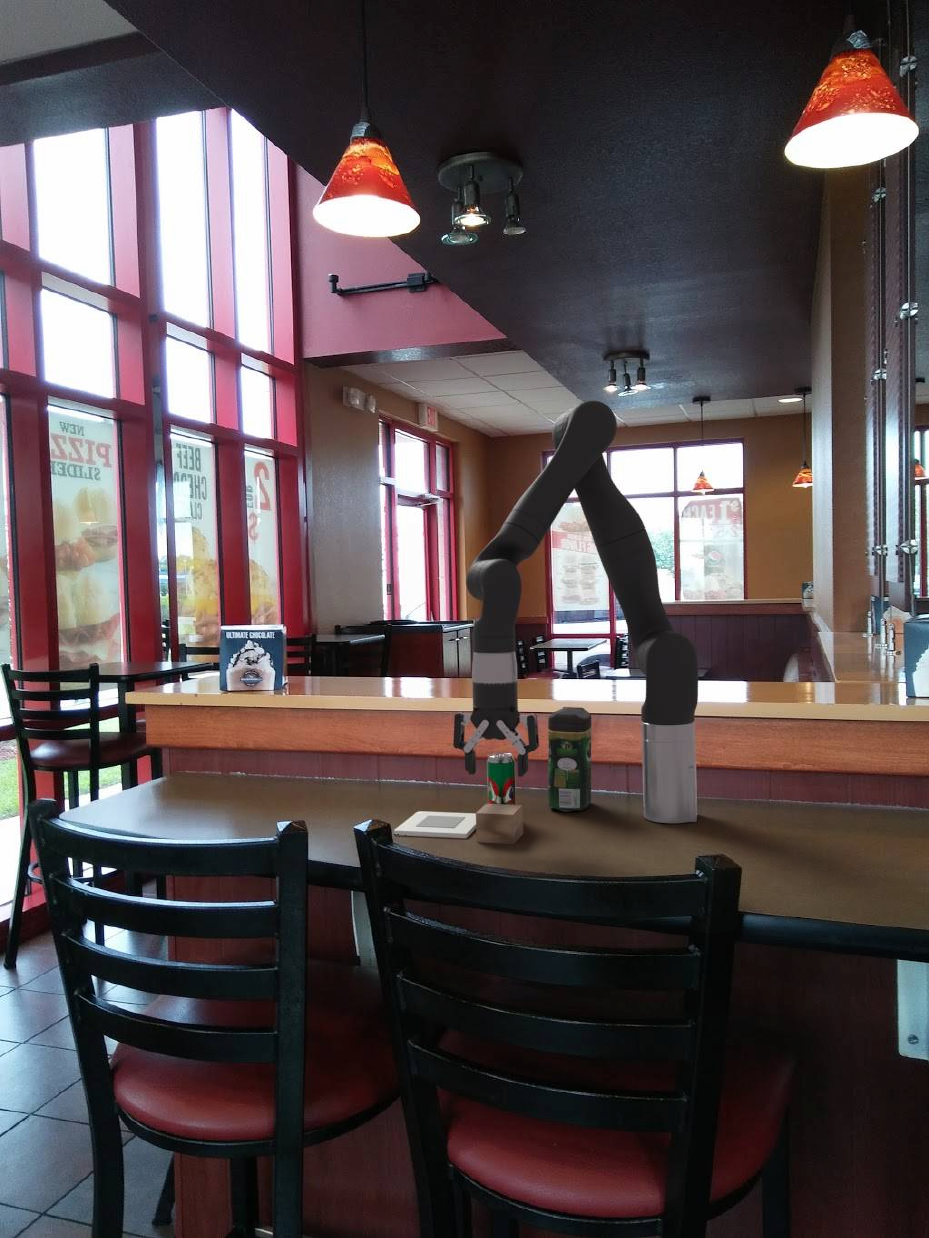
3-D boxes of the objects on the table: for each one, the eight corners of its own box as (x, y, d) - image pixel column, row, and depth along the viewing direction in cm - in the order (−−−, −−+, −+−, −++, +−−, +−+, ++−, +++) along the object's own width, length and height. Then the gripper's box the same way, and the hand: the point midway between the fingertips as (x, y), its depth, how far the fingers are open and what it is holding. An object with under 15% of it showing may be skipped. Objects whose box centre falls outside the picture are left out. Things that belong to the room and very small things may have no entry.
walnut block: (523, 834, 157) (522, 805, 156) (514, 844, 151) (513, 814, 150) (487, 832, 159) (486, 803, 158) (476, 842, 152) (475, 813, 152)
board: (485, 818, 167) (485, 813, 167) (466, 838, 155) (466, 833, 155) (418, 815, 171) (417, 810, 171) (393, 834, 158) (393, 829, 158)
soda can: (517, 817, 167) (515, 752, 166) (516, 825, 162) (514, 757, 161) (489, 817, 167) (487, 752, 167) (487, 825, 162) (485, 757, 162)
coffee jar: (553, 797, 179) (554, 703, 178) (594, 801, 177) (595, 705, 176) (542, 810, 170) (543, 711, 169) (585, 814, 168) (586, 713, 167)
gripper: (541, 676, 155) (542, 772, 156) (460, 675, 159) (462, 768, 160) (531, 682, 148) (533, 781, 149) (447, 680, 152) (449, 777, 153)
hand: (496, 774), depth 154 cm, fingers open, 8 cm apart
